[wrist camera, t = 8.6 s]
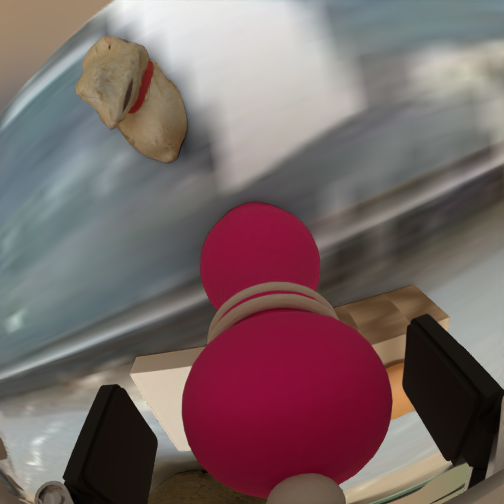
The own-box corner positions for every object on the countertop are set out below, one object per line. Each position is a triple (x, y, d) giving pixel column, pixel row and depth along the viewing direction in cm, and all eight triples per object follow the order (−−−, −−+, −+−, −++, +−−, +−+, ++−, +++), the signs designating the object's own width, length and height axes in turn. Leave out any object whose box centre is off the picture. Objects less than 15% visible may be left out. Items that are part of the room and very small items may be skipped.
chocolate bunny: (195, 57, 18) (165, -4, 9) (185, 162, 21) (143, 174, 11) (122, 60, 18) (55, 16, 8) (113, 161, 20) (35, 176, 11)
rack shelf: (264, 334, 26) (267, 352, 23) (286, 419, 29) (289, 437, 27) (136, 356, 26) (129, 373, 24) (181, 434, 30) (179, 451, 27)
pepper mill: (301, 286, 24) (404, 538, 5) (209, 289, 24) (174, 564, 5) (305, 194, 22) (533, 390, 3) (204, 196, 22) (61, 451, 3)
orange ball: (395, 314, 25) (433, 360, 19) (393, 360, 27) (423, 407, 20) (338, 331, 25) (364, 385, 19) (341, 376, 27) (363, 429, 21)
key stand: (413, 284, 25) (449, 317, 19) (408, 365, 28) (433, 402, 22) (309, 314, 25) (327, 358, 19) (320, 393, 28) (334, 437, 23)
